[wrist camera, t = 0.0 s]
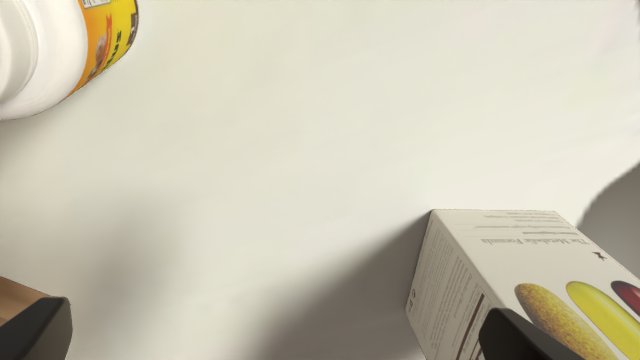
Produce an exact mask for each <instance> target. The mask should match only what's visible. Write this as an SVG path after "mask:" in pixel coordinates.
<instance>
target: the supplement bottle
mask: <svg viewBox="0 0 640 360" xmlns="http://www.w3.org/2000/svg"><path fill="white" fill-rule="evenodd" d="M138 25H139V7H138V1H137V0H0V120H14V119H20V118H25V117H29V116H33V115H36V114H38V113H41V112H43V111H45V110H47V109H49V108H51V107H53V106H55V105H56V104H58V103H60V102H61V101H63V100H64V99H66V98H67V97H68V96H69V95H71V94H72V93H74V92H75V91H76V90H78V89H80V88H81V87H83V86H84V85H85V84H86V83H88V82H89V81H90V80H92V79H93V78H95V77H96V76H97V75H98V74H100V73H101V72H103V71H104V70H105V69H107V68H108V67H110V66H111V65H112V64H114V63H115V62H116V61H118V60H119V59H120V58H121V57H122V56H123V55H124V54H125V53H126V52H127V51H128V50H129V48H130V47H131V45H132V44H133V42H134V40H135V37H136V34H137V30H138Z"/></svg>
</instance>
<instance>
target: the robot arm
mask: <svg viewBox="0 0 640 360" xmlns="http://www.w3.org/2000/svg"><path fill="white" fill-rule="evenodd" d="M72 331H73V328H72V319H71V310H70V303H69V300H68V298H66V297H51V296H46V297H42V298H40V299H38V300H37V301H35V302H34V303H33V304H31V305H30V306H28V307H27V308H25V309H24V310H23V311H21V312H20V313H18V314H17V315H15V316H14V317H13V318H11V319H10V320H8V321H7V322H5V323H4V324H3V325H1V326H0V360H65V357H66V354H67V351H68V348H69V345H70V342H71V338H72ZM478 340H479V344H480V347H481V350H482V353H483V356H484V359H485V360H586V359H585V358H583V357H582V356H580V355H579V354H577V353H576V352H574V351H573V350H571V349H570V348H568V347H567V346H565V345H564V344H562V343H561V342H559V341H558V340H556V339H555V338H553V337H552V336H550V335H549V334H547V333H546V332H544V331H543V330H541V329H540V328H538V327H537V326H535V325H534V324H533V323H531V322H530V321H528V320H527V319H525V318H524V317H522V316H521V315H519V314H518V313H516V312H515V311H513V310H512V309H510V308H505V307H494V308H491V309H490V310H489V312H488V314H487V316H486V318H485V320H484V322H483V324H482V326H481V328H480V330H479V334H478Z"/></svg>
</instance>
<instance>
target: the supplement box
mask: <svg viewBox="0 0 640 360" xmlns="http://www.w3.org/2000/svg"><path fill="white" fill-rule="evenodd" d="M494 307H505V308H510V309H512V310H513V311H515V312H516V313H518V314H519V315H521V316H522V317H524V318H525V319H527V320H528V321H530V322H531V323H533V324H534V325H535V326H537V327H538V328H540V329H541V330H543V331H544V332H546V333H547V334H549V335H550V336H552V337H553V338H555V339H556V340H558V341H559V342H561V343H562V344H564V345H565V346H567V347H568V348H570V349H571V350H573V351H574V352H576V353H577V354H579V355H580V356H582V357H583V358H585V359H586V360H640V280H639V279H638V278H637V277H635V276H634V275H633V274H632V273H630V272H629V271H628V270H627V269H625V268H624V267H623V266H622V265H620V264H619V263H618V262H617V261H616V260H614V259H613V258H612V257H611V256H609V255H608V254H607V253H606V252H605V251H603V250H602V249H601V248H600V247H598V246H597V245H596V244H595V243H593V242H592V241H591V240H590V239H588V238H587V237H586V236H585V235H583V234H582V233H581V232H580V231H578V230H577V229H576V228H575V227H574V226H572V225H571V224H570V223H569V222H567V221H566V220H565V219H564V218H562V217H561V216H560V215H559V214H558V213H556V212H555V211H517V210H457V209H435V210H432V212H431V214H430V218H429V222H428V225H427V229H426V233H425V237H424V240H423V244H422V248H421V252H420V255H419V259H418V263H417V267H416V271H415V275H414V278H413V282H412V286H411V290H410V293H409V297H408V301H407V305H406V309H405V312H406V315H407V317H408V320H409V322H410V324H411V326H412V329H413V331H414V333H415V335H416V338H417V340H418V342H419V344H420V346H421V349H422V351H423V353H424V355H425V358H426V360H485V359H484V356H483V353H482V350H481V347H480V344H479V340H478V334H479V330H480V328H481V326H482V324H483V322H484V320H485V318H486V316H487V314H488V312H489V310H490V309H491V308H494Z"/></svg>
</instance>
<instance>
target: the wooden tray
mask: <svg viewBox="0 0 640 360" xmlns="http://www.w3.org/2000/svg"><path fill="white" fill-rule="evenodd" d="M46 296H49V295H46V294H44V293H41V292H39V291H36V290H34V289H31V288H29V287H26V286H23V285H21V284H18V283H16V282H13V281H11V280H8V279H6V278H3V277H1V276H0V326H1V325H3V324H4V323H5V322H7V321H8V320H10V319H11V318H13V317H14V316H15V315H17V314H18V313H20V312H21V311H23V310H24V309H25V308H27V307H28V306H30V305H31V304H33V303H34V302H35V301H37V300H38V299H40V298H42V297H46ZM70 305H71V304H70Z"/></svg>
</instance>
